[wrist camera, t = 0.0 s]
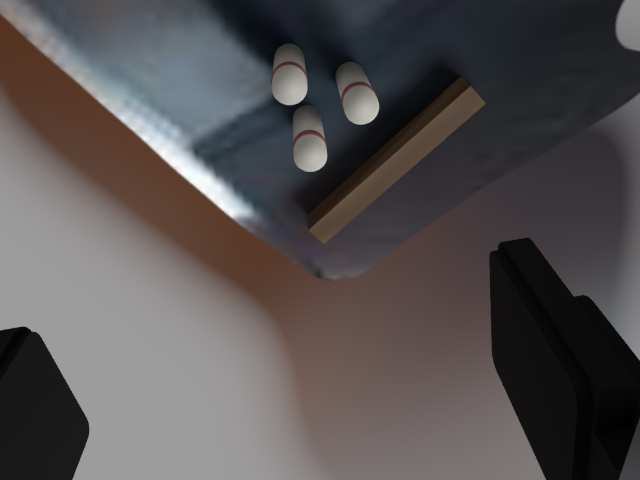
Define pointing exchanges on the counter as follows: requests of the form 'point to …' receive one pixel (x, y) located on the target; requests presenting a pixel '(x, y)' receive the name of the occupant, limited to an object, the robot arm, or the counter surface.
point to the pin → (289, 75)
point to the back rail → (394, 159)
